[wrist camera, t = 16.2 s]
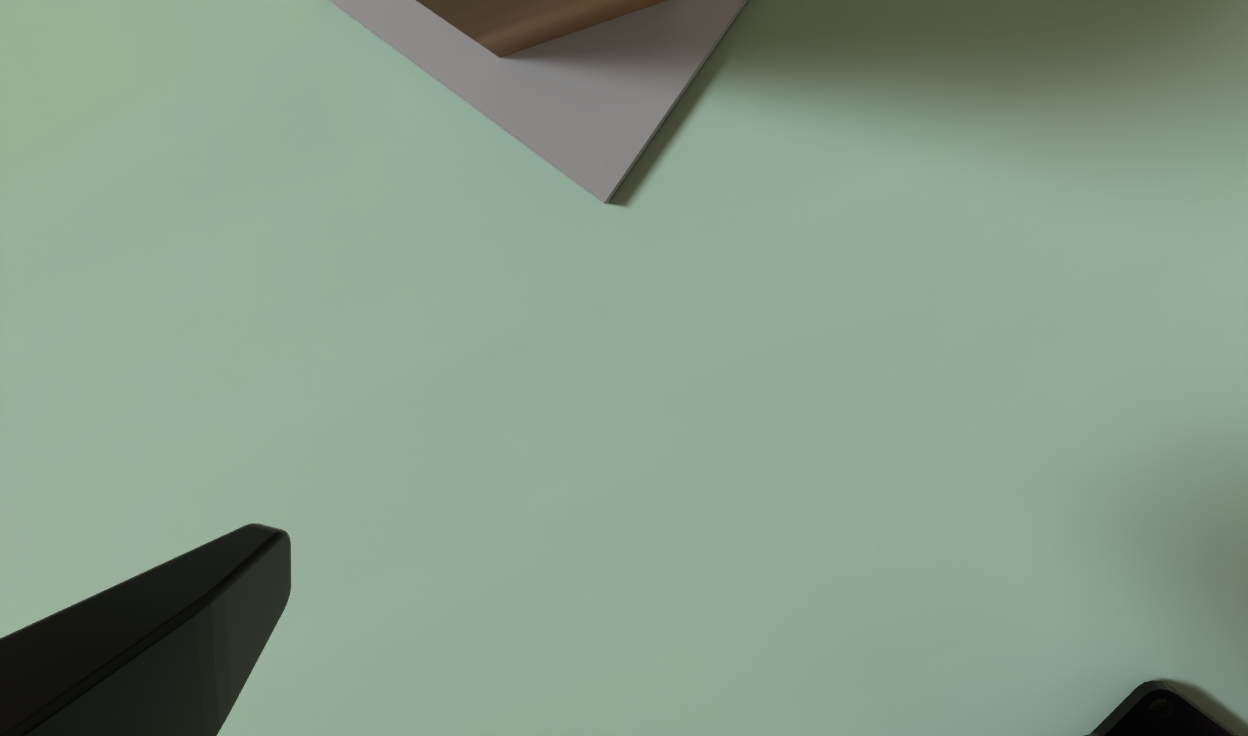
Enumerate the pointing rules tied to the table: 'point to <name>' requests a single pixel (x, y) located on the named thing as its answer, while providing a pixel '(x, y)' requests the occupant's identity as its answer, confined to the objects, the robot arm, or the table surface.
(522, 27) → the walnut block
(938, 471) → the table surface
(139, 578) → the robot arm
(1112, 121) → the table surface
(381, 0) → the rest mat
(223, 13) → the table surface
